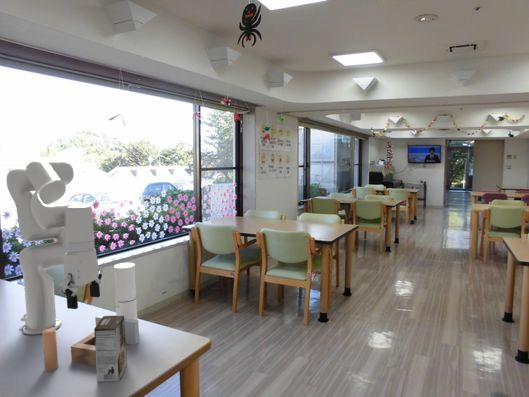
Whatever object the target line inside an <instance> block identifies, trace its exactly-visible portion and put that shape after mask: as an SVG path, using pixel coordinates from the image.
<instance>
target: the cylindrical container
mask: <svg viewBox="0 0 529 397" xmlns="http://www.w3.org/2000/svg"><path fill="white" fill-rule="evenodd" d="M113 276H114V277H113V279H114V291H115V292H114V296H115V313H116V314H115V316H124V318H126V319H133V320H138V308H137V306H138V305H137V304H138V302H137V284H136V282H137V281H136V264H135V263H133V262H121V263H116V264H115V265H114V266H113Z"/></svg>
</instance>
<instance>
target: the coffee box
mask: <svg viewBox="0 0 529 397" xmlns="http://www.w3.org/2000/svg"><path fill="white" fill-rule="evenodd" d="M93 330H94V332H93V333H95V350H96V366H95V367H96V368H95V369H96V381H97V383H98V382H100V383H101V382H103V383H104V382H118V381H120V380H121V377H122V376H123V373H124V370H125V369H126V366H127V364H128V360H127V343H126V340H125V323H124V316H116V315H103V318H102V319H101V320H100V322H99V323H98V324H97V326H96V325H95V327H94V328H93Z"/></svg>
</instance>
